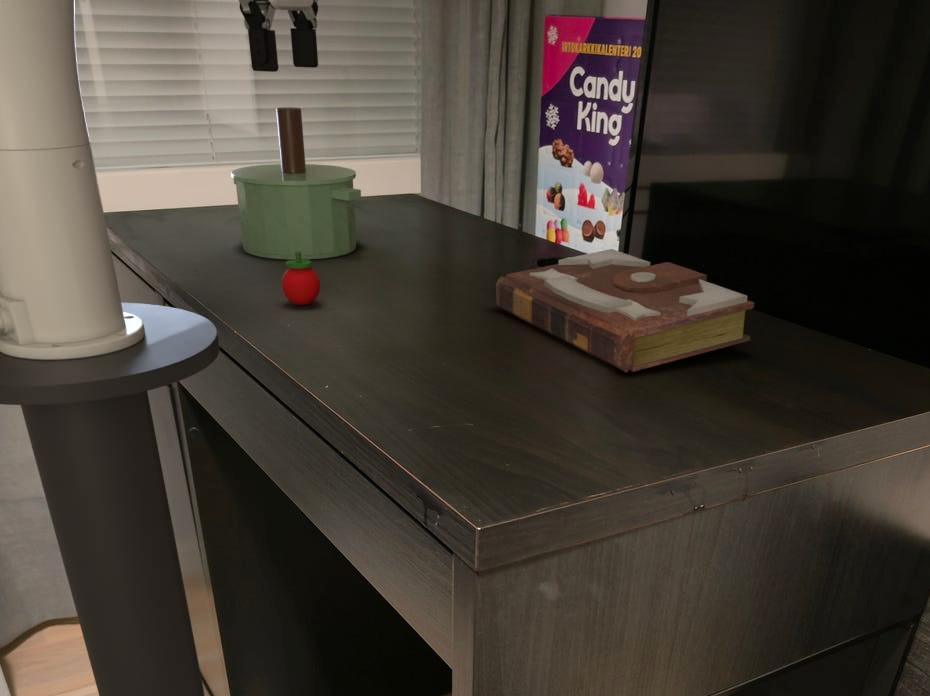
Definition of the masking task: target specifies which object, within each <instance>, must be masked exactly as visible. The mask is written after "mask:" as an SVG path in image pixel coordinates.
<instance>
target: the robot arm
mask: <svg viewBox="0 0 930 696" xmlns="http://www.w3.org/2000/svg"><path fill="white" fill-rule="evenodd" d="M75 1H76V0H0V352H2V353H3V354H6V355H9V356H12V357H17V358H23V359H33V360H67V359H79V358H87V357H94V356H99V355H104V354H109V353H113V352H117V351H120V350H123V349H126V348H128V347H130V346H133V345H135V344H136V343H138V342H139V341H141V340H142V339H143V337H144V336H145V328H144V324H143V321H142V320H141V319H140V318H139V317H137V316H135V315H132V314H129V313H126V312H123V309H122V304H121V303H122V300H121V295H120V290H119V284H118V279H117V273H116V268H115V264H114V259H113V254H112V253H113V252H112V249H111V243H110V238H109V237H110V236H109V234H108V232H109V231H108V227H107V223H106V216H105V212H104V205H103V202H102V197H101V191H100V187H99V181H98V176H97V171H96V166H95V160H94V156H93V150H92V145H91V140H90V134H89V129H88V124H87V120H86V114H85V113H86V112H85V108H84V103H83V97H82V90H81V83H80V77H79V69H78V59H77V58H78V56H77V46H76V45H77V43H76V3H75ZM318 1H319V0H238V2H239V11H240V13H241V14H242V16H243V18H244V19H243V23H244V27H245V29H246V30H247V35H248V44H249V53H250V63H251V69H252V70H253V71H254V72H268V73H275V72H279V60H278V49H277V38H276V30H275V29H271V28H272V25H273V21H274V16H275V13H276V10H278V11H279V10H280V11H286V13H287V14H288V16H289V18H290V21H291V23H292V26H293V27H290V41H291V50H292V52H291V53H292V62H293V63H292V64H293V66H294V67H296V68H310V69H311V68H312V69H313V68H318V67H319V55H318V54H319V53H318V42H317V28H318V19H317V16H318V12H319V5H318Z"/></svg>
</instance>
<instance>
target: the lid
mask: <svg viewBox="0 0 930 696" xmlns="http://www.w3.org/2000/svg"><path fill="white" fill-rule="evenodd" d="M275 110H276V121H277V134H278V144H279V155H280V163H273V164H271V163H269V164H259V165H258V164H257V165H249V166H244V167H240V168H236V169H233V170H232V171H231V172H230V176H231V178H232V179H233V180H234V179H235V180H237V181H241V182H246V183H253V184H262V185H281V186H305V185H323V184H334V183H341V182H346V181H350V180H352V179H353V180H354V179H356V177H357V172H356V170H354V169H352V168H348V167H344V166H338V165H331V164H330V165H329V164H328V165H327V164H319V163H318V164H315V163H306V155H305V144H304V143H305V142H304V129H303V117H302V108H301V107H292V106H291V107H289V106H288V107H287V106H286V107H283V106H282V107H277V108H275Z"/></svg>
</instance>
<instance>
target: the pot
mask: <svg viewBox="0 0 930 696" xmlns="http://www.w3.org/2000/svg"><path fill="white" fill-rule="evenodd" d="M233 184H234V185H235V188H236V198H237V206H238V207H237V208H238V213H239V215H238V216H239V222H240V232H241V240H242V247H243V250H244V252H245V253H247V254H249V255H252V256H256V257H259V258H266V259H272V260H287V261H290V260H296V257H295V252H296V251H300V252H301V258H302V259H303V260H319V259H329V258H336V257H340V256H345V255H348V254H350V253H352V252H354V251H355V250H356V248H357V231H356V213H355V212H356V211H355V201H356V200H360V199H362V190H361V189H359V188H354V179H352V180H350V181H346V182H341V183H334V184H323V185H305V186H281V185H262V184H253V183H246V182H241V181H237V180H235V179H233Z"/></svg>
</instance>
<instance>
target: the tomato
mask: <svg viewBox="0 0 930 696" xmlns="http://www.w3.org/2000/svg"><path fill="white" fill-rule="evenodd" d="M295 257H296V260H287V261H286V262H285V265H286V268H287V269H286V270H285V271H284V273H283V275H282V278H281V289H282V293H283V295H284V296H285V298H286V299H287V300H288V301H289V302H291V303H292V304H294V305H296V306H307V305H310V304H312V303H313V302H315V300H317V298H318V297H319V294H320V291H321V282H320V278H319V276H318V275H317V274H318V273H316V272H315V270H314V269H312V268H311V267H312V266H313V263H312V261H311V260H310V259H305V260H303V259H302V258H301V252H300V251H296V252H295Z"/></svg>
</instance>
